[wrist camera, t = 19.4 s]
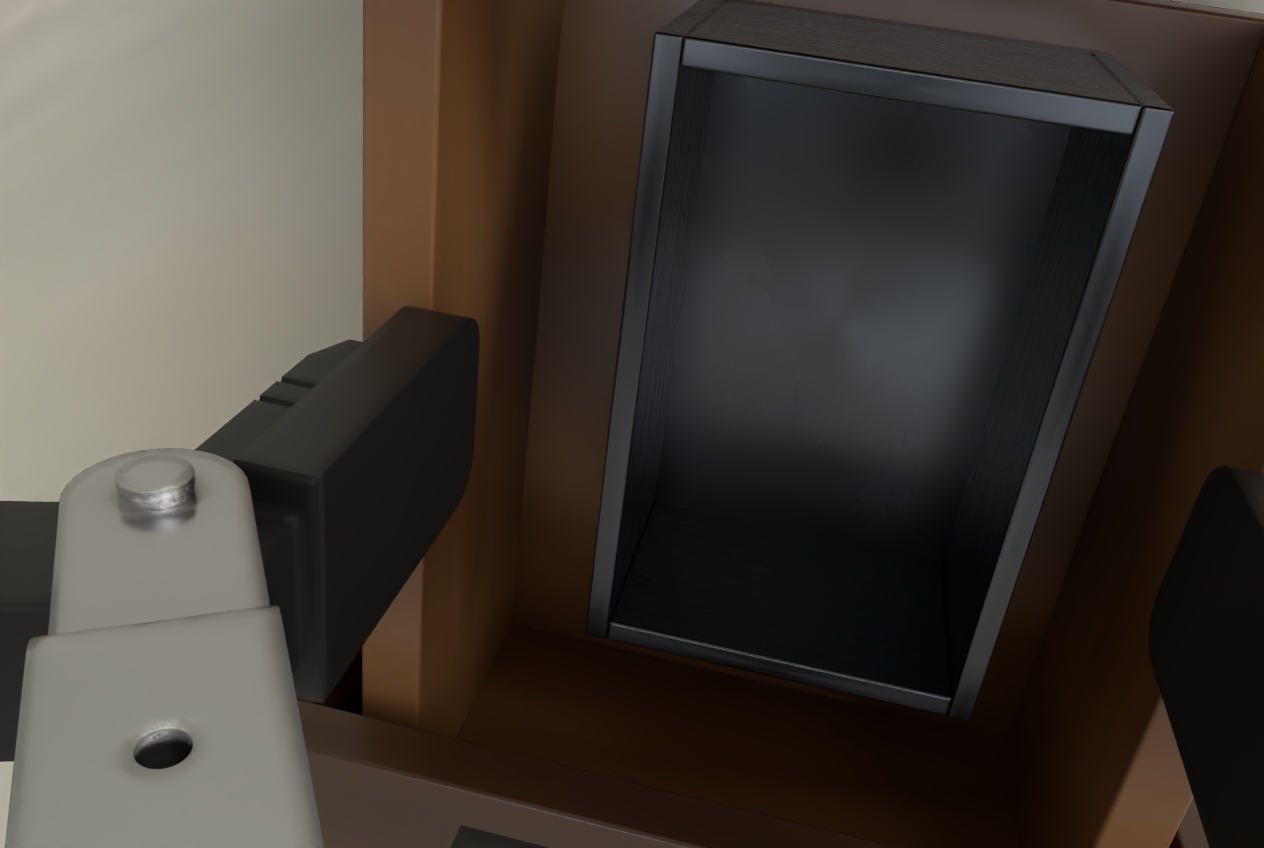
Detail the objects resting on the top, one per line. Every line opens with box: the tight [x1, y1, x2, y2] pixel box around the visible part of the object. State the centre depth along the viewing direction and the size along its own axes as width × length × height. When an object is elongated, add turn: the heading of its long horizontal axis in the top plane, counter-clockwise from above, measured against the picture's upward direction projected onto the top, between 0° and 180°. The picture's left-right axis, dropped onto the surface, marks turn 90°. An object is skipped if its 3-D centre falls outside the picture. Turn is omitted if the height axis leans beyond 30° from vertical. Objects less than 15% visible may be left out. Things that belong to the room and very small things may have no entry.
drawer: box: [362, 0, 1264, 848], centre depth 13 cm, size 19×11×6 cm, turn 173°
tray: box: [585, 0, 1175, 721], centre depth 14 cm, size 5×8×4 cm, turn 173°
